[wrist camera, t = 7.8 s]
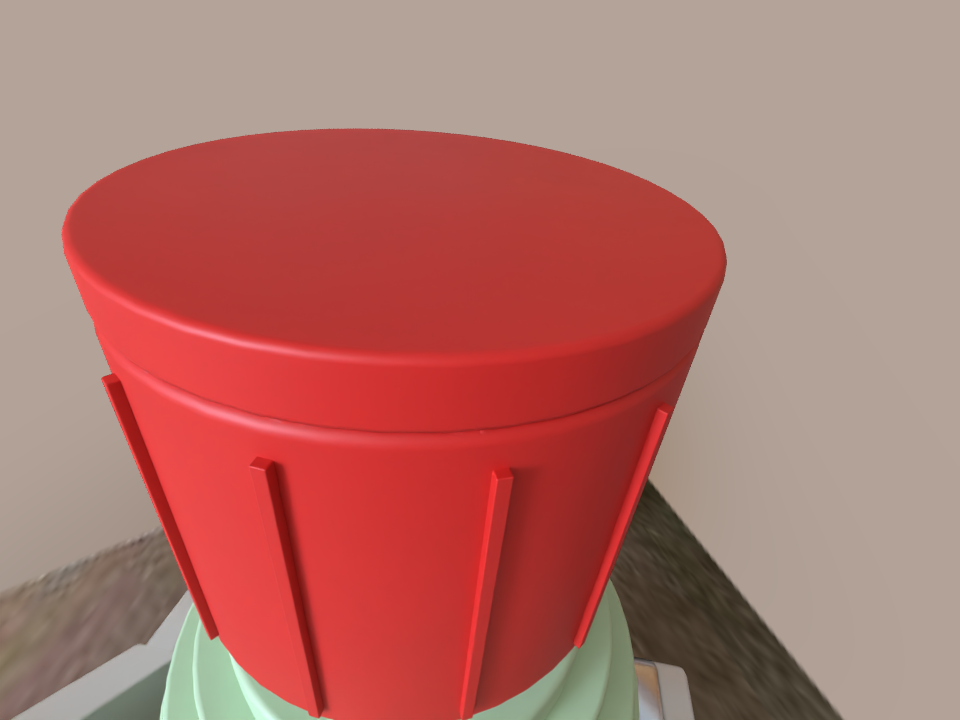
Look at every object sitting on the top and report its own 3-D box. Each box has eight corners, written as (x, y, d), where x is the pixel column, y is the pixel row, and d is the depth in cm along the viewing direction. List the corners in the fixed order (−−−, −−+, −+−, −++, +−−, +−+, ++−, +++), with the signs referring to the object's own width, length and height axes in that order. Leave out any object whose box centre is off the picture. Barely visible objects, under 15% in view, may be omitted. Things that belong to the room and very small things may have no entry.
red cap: (102, 729, 4) (-219, 324, 2) (277, 383, 7) (230, 114, 5) (660, 735, 4) (899, 385, 2) (572, 399, 7) (631, 147, 5)
